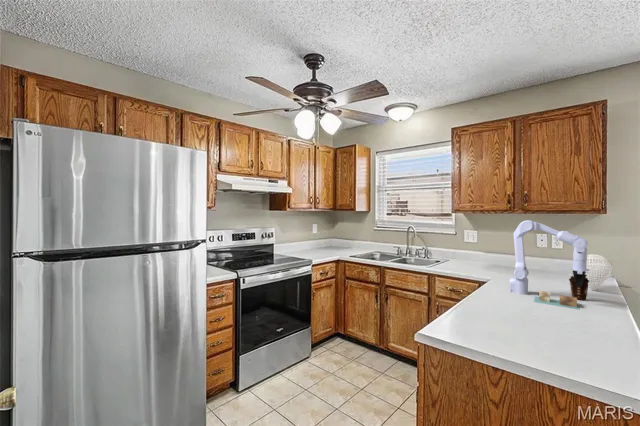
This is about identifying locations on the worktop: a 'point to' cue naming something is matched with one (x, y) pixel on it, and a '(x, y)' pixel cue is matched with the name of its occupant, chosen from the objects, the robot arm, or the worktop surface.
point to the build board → (554, 303)
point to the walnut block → (568, 301)
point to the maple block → (544, 296)
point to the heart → (608, 266)
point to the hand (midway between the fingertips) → (578, 285)
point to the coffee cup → (579, 289)
